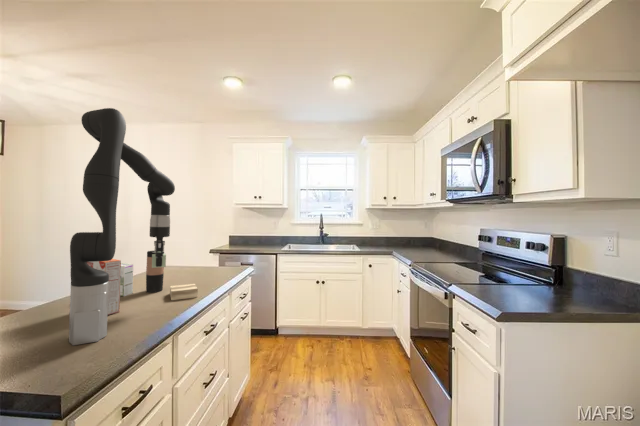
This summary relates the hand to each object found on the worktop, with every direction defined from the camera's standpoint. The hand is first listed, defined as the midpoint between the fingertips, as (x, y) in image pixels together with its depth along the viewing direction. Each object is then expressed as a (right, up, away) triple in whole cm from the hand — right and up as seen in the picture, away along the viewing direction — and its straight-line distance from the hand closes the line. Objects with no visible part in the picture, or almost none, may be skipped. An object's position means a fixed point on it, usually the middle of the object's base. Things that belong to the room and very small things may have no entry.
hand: (158, 265), depth 118 cm
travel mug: (-15, -17, +22) cm, 31 cm away
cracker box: (-18, -17, -8) cm, 26 cm away
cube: (0, 0, 0) cm, 0 cm away
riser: (+3, -18, +15) cm, 23 cm away
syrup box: (-25, -17, +14) cm, 34 cm away
